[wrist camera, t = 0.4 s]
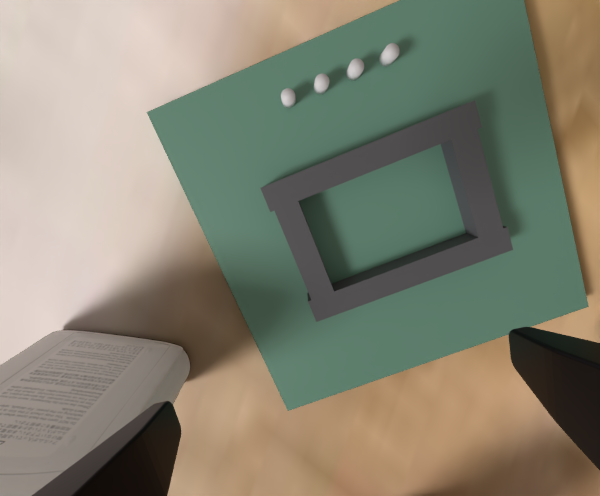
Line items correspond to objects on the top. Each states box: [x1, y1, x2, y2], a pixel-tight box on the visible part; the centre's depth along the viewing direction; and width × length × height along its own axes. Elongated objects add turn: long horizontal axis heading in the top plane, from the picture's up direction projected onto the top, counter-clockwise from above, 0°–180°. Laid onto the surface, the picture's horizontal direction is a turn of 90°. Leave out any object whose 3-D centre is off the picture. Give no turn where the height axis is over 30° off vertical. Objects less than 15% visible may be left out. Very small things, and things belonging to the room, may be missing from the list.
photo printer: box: [0, 330, 190, 496], centre depth 18 cm, size 10×4×12 cm, turn 82°
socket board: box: [147, 0, 589, 411], centre depth 20 cm, size 22×22×2 cm
